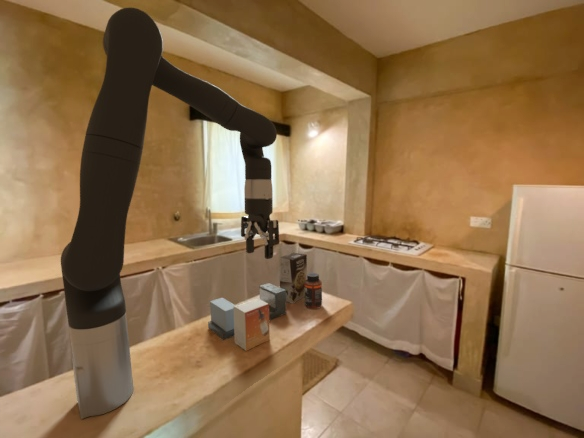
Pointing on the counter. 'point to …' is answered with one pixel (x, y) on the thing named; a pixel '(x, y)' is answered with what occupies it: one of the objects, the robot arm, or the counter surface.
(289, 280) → the coffee box
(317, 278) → the supplement bottle
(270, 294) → the vise bed
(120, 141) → the robot arm
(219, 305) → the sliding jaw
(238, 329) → the small box
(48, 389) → the counter surface
